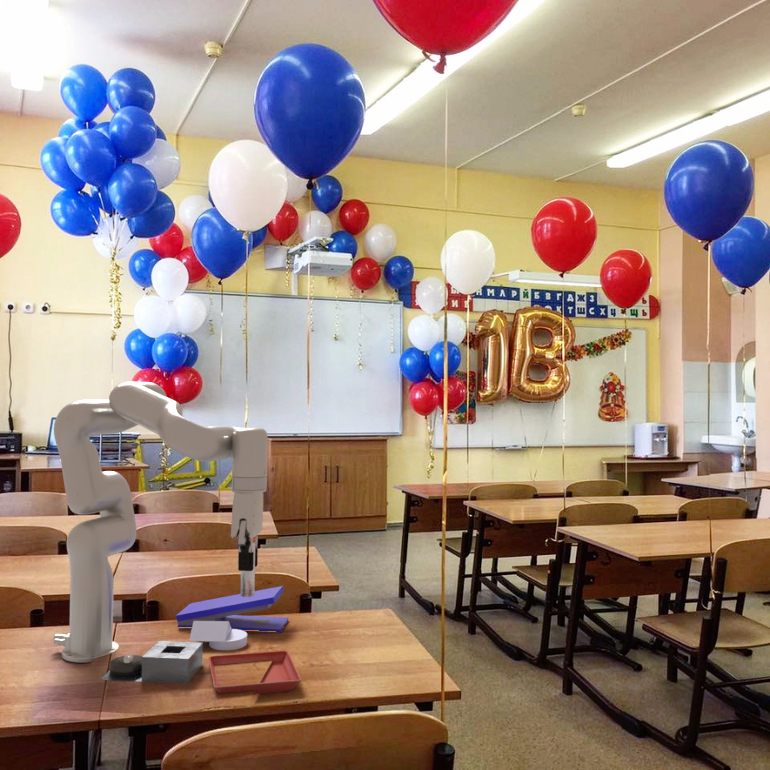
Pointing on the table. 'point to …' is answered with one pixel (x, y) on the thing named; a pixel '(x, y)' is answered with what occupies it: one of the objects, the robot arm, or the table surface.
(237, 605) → the stapler
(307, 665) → the table surface
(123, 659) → the block
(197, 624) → the wedge on round base
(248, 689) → the plant saucer
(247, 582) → the pin
